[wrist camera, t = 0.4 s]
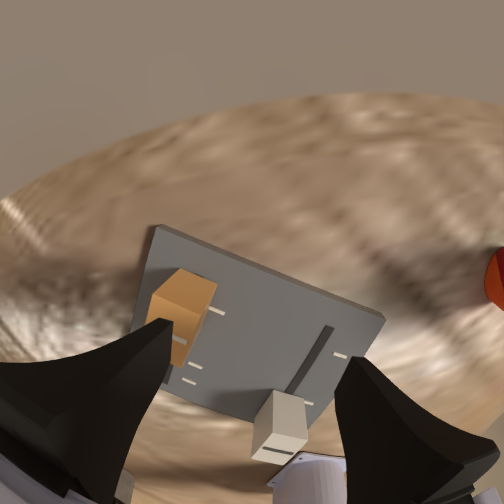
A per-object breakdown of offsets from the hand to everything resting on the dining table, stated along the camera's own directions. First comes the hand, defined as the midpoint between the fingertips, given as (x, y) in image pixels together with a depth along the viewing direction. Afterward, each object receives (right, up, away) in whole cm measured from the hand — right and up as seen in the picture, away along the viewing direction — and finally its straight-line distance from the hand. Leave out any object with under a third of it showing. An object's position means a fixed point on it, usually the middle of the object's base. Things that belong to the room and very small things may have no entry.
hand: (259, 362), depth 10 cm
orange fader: (-5, +1, +9) cm, 10 cm away
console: (-1, -3, +11) cm, 12 cm away
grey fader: (+2, -9, +11) cm, 14 cm away
